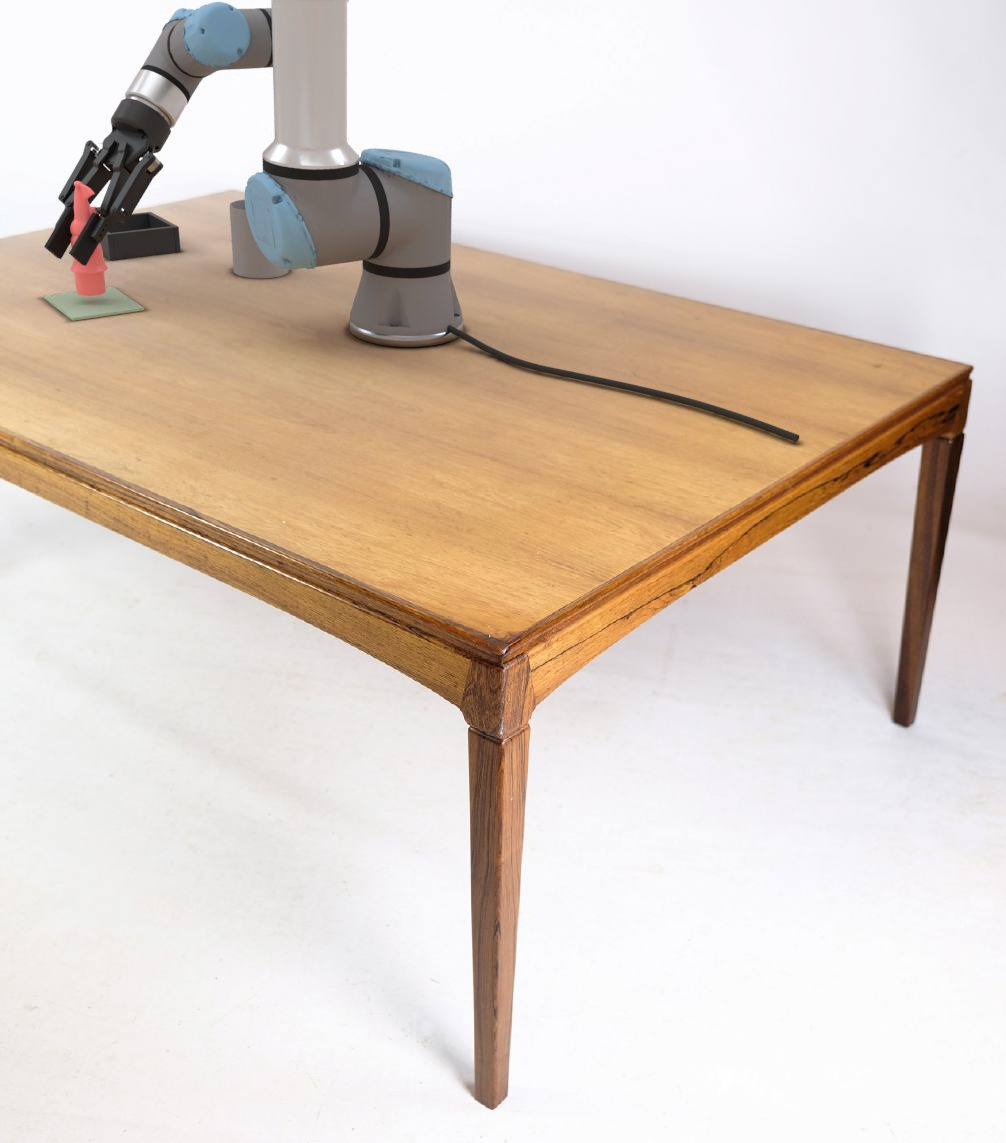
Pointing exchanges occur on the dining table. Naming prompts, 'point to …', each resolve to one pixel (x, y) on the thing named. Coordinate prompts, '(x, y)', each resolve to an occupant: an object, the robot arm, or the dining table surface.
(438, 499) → the dining table surface
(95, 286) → the figurine
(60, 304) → the mat
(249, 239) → the cup
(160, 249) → the box
